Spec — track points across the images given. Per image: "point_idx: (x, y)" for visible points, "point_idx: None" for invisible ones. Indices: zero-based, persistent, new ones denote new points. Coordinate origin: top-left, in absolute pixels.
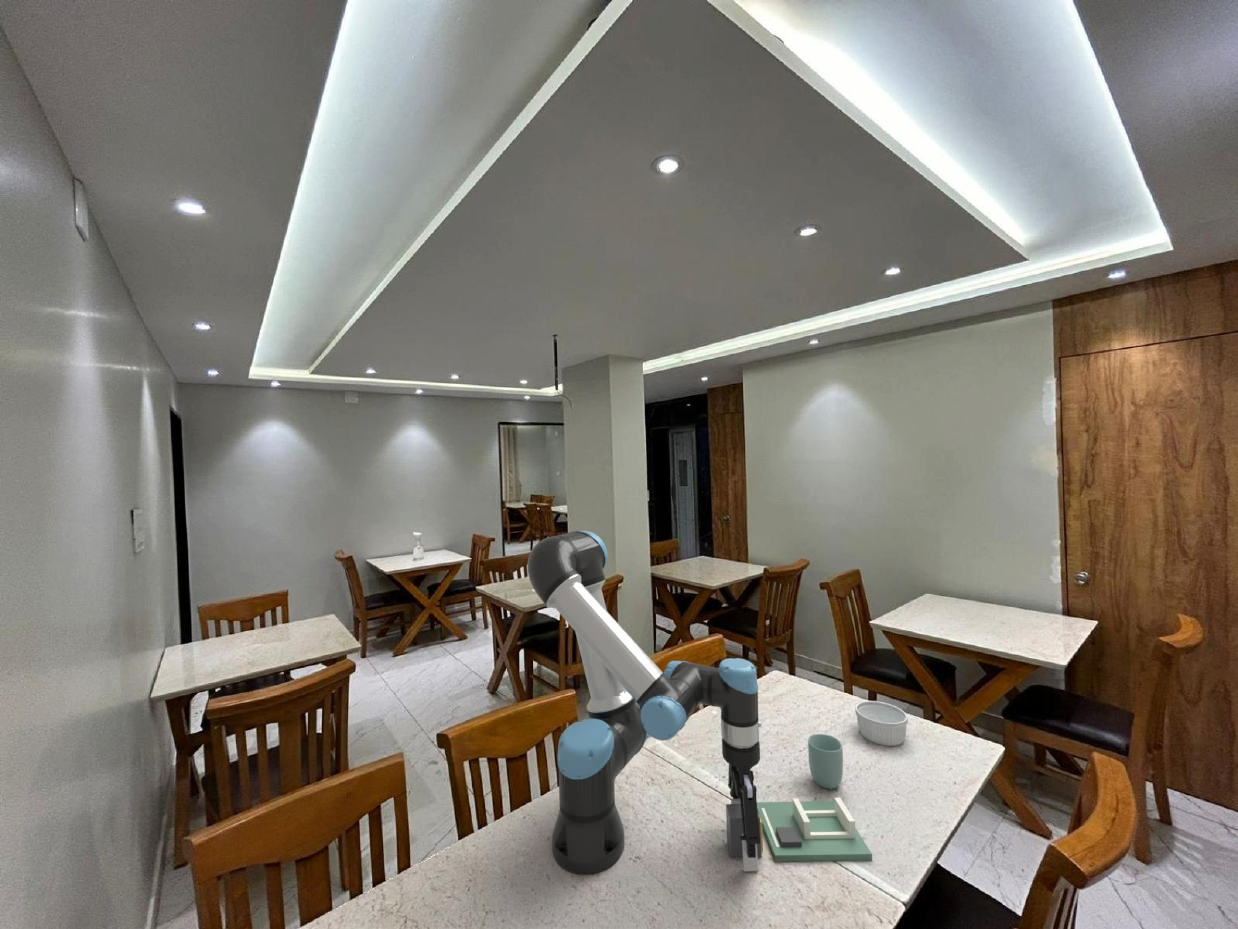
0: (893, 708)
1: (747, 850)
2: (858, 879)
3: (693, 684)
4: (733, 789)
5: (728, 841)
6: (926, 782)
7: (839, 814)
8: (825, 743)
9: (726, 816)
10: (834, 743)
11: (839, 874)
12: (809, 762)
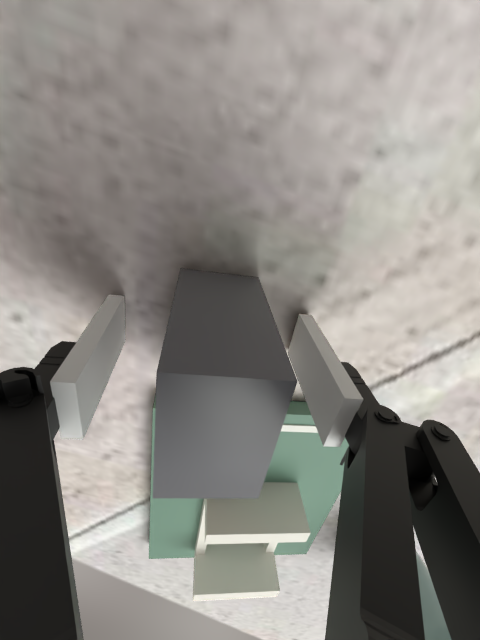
0: None
1: (62, 358)
2: (100, 516)
3: None
4: (362, 479)
5: (230, 285)
6: (308, 623)
7: (249, 563)
8: None
9: (275, 336)
10: None
11: (112, 495)
12: (419, 583)
